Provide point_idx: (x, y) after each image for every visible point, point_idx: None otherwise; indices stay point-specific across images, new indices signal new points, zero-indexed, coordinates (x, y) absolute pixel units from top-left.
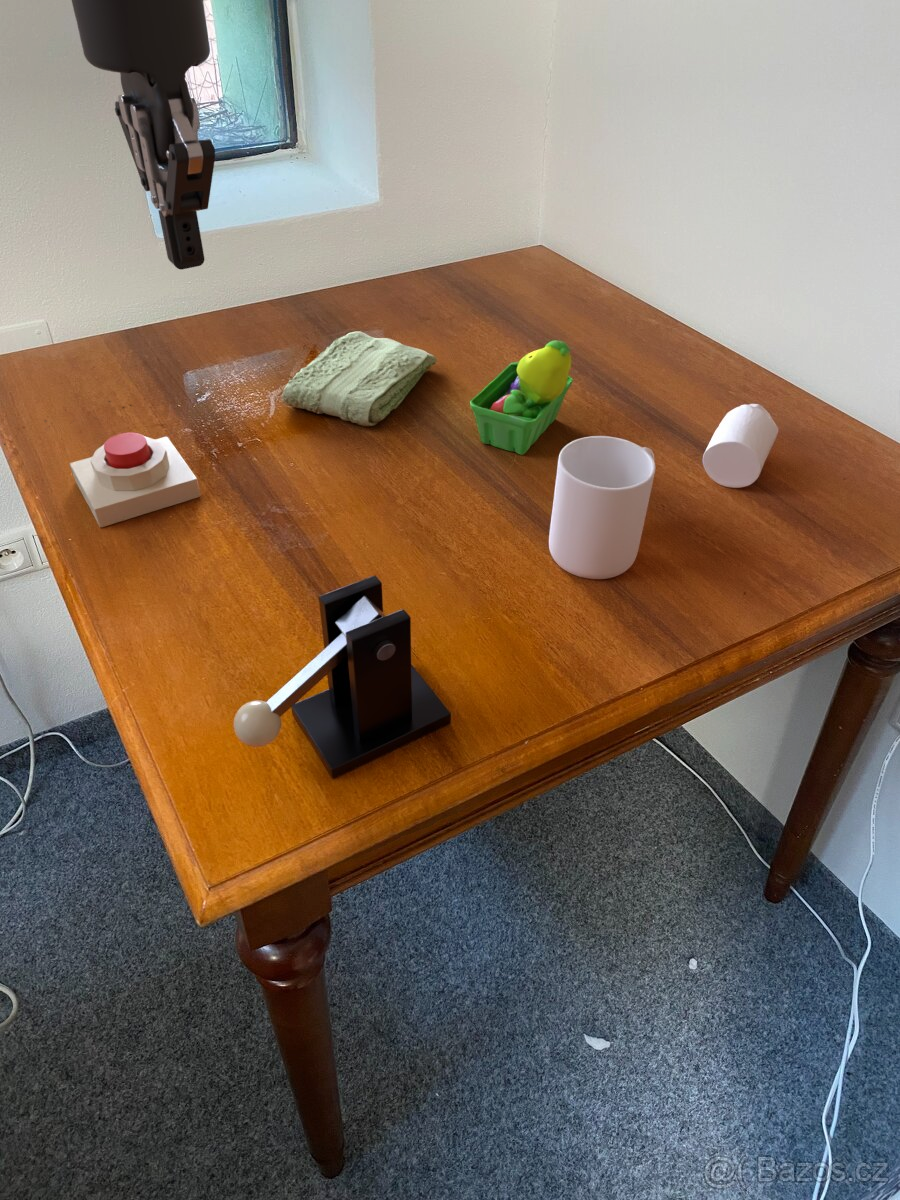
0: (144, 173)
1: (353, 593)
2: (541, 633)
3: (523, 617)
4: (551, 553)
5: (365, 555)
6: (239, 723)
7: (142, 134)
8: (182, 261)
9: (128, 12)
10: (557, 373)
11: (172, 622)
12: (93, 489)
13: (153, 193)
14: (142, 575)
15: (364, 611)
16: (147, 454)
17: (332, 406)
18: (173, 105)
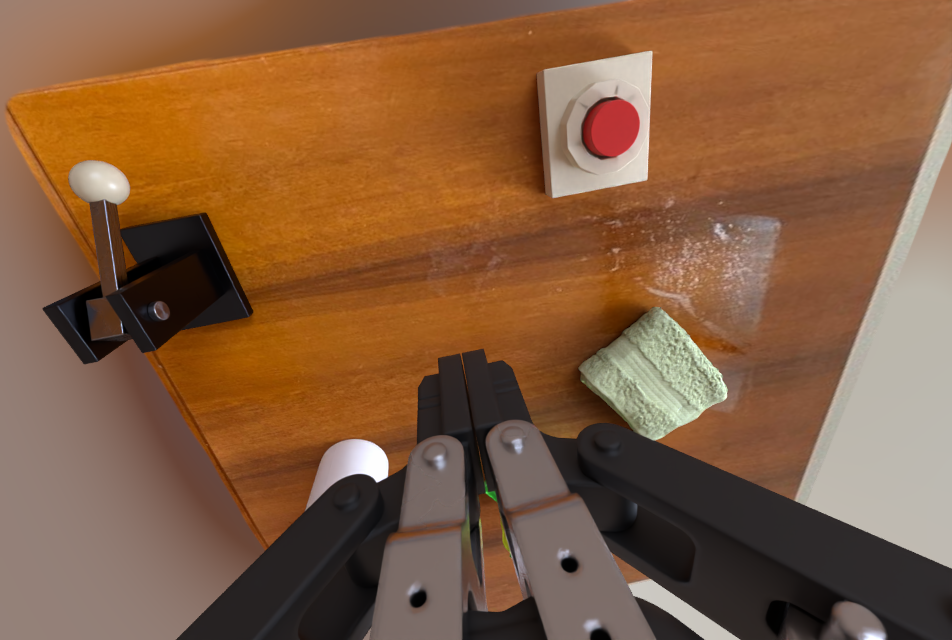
0: (605, 474)
1: (124, 325)
2: (274, 407)
3: (294, 402)
4: (354, 441)
5: (401, 317)
6: (75, 167)
7: None
8: (422, 381)
9: None
10: (503, 535)
11: (354, 127)
12: (583, 74)
13: (513, 454)
14: (437, 109)
15: (105, 327)
16: (595, 152)
17: (615, 348)
18: None
